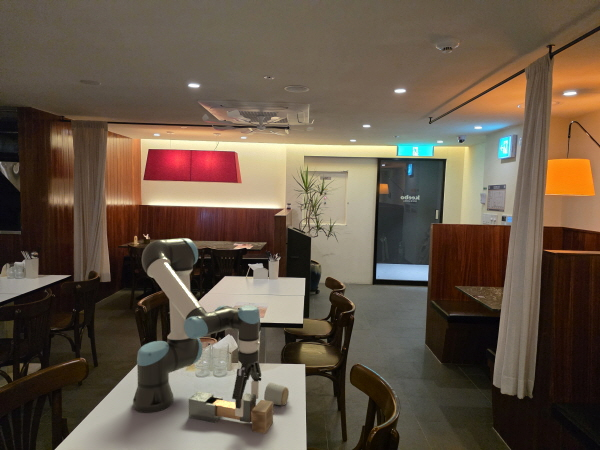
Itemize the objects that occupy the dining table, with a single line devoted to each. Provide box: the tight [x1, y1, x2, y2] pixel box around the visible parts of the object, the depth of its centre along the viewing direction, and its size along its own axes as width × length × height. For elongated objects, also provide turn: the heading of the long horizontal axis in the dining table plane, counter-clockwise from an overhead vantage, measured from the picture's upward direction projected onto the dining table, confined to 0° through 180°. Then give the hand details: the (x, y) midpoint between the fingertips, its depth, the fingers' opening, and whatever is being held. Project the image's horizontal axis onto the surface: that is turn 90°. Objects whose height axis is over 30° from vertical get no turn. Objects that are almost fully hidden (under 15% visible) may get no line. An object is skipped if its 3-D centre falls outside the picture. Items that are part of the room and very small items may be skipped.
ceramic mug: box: [263, 382, 290, 406], centre depth 168 cm, size 11×8×8 cm
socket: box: [251, 399, 274, 434], centre depth 150 cm, size 5×8×8 cm, turn 163°
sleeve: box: [188, 391, 224, 423], centre depth 156 cm, size 11×6×7 cm, turn 73°
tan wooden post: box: [213, 392, 257, 424], centre depth 152 cm, size 20×5×8 cm, turn 73°
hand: (247, 406), depth 151 cm, fingers open, 13 cm apart
